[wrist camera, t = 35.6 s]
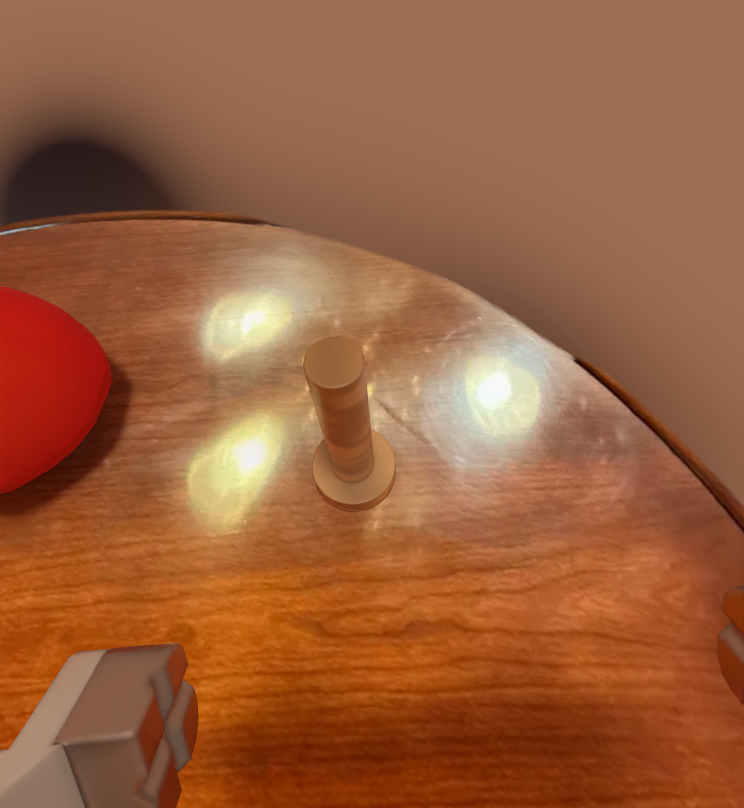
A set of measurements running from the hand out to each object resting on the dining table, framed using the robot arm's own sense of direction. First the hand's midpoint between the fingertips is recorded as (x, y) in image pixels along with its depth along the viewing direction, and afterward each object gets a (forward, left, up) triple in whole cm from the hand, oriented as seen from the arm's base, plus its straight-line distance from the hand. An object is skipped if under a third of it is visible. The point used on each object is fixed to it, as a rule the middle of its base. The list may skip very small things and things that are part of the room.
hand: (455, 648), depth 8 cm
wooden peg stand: (-5, -11, -25) cm, 28 cm away
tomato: (+9, -28, -25) cm, 39 cm away
